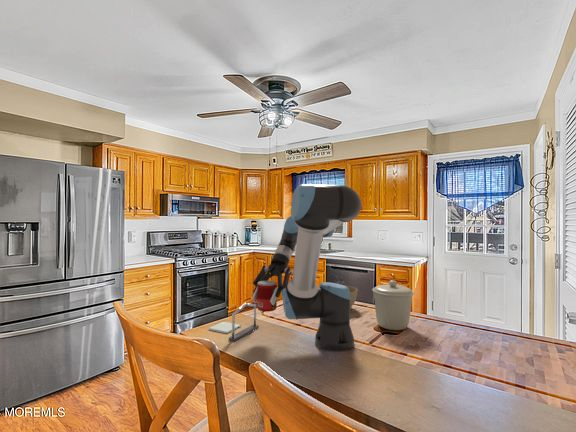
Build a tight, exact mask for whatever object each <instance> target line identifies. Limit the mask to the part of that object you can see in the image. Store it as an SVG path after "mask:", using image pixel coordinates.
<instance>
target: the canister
mask: <svg viewBox="0 0 576 432" xmlns="http://www.w3.org/2000/svg"><path fill="white" fill-rule="evenodd" d="M371 290H372V292H373V298H374V300H373V301H374V308H375V310H374V311H375V316H376V322H377V324H378V326H379V327H381V328H383V329H385V330H391V331H403V330H406V329H407V328H408V326H409V324H410V317H411V310H412V302H413V295H415V291H414V290H413V289H411V288H410V287H407V286H403V285H398V282H397V281H396V280H394V279H391V280H389V281H388V284H379V285H377V286H375V287H373V288H372V289H371Z"/></svg>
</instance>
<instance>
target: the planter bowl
mask: <svg viewBox="0 0 576 432" xmlns="http://www.w3.org/2000/svg"><path fill="white" fill-rule="evenodd" d="M345 286H346V287H347V288H348V289H349V291H350V311H351V310H352V307H353V306H354V304H355V302H356V300H357V297H358V288H357V287H354V286H352V285H351V286H349V285H345Z"/></svg>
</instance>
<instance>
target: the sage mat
mask: <svg viewBox="0 0 576 432" xmlns="http://www.w3.org/2000/svg"><path fill="white" fill-rule="evenodd" d="M240 326H241V327H242V324H238V323H235V329H236V330H237V329H239V328H241V327H240ZM238 327H239V328H238ZM208 330H209V331H213V332H217V333H223V334H226V333H228V334H230V333H232V332H231V331H232V322H228V321H222V322H219V323H217V324H215V325H212V326H210V327H209V328H208ZM229 332H230V333H229Z"/></svg>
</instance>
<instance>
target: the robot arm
mask: <svg viewBox="0 0 576 432" xmlns="http://www.w3.org/2000/svg"><path fill="white" fill-rule="evenodd" d="M361 210H362V200H361V197H360V196H359V194H358V192H357V191H355V190H354V189H353V188H352V187H350V186H347V185H344V184H318V183H317V184H313V183H309V184H308V183H305V184H304V183H303V184H302V183H301V184H300V185H297V186H296V188H295V189H294V191H293V194H292V197H291V201H290V215H289V216H288V217H287V218H286V220H285V222H284V224H283V225H284V226H283V229H282V230H283V231H282V233H281V238H280V241H279V242H278V245H277V248H276V249H275V251H274V254H273V256H272V258H271V260H270V264H269V265H268V266H265V265H262V268H261V270H260V271H259V273H258V274H257V276H256V277H255V279H254V281H253V282H252V284H253V285H254V290H253V295H252V297H251V300H252V301H253V304H256V303H257V284H258V282H259V281H269V280H270V278H273V277H275V276H276V277H277V288H275V291H274V293H273V295H272V298H271V300H270V302H271V304H272V305H274V304H275V302H276V299H278V298H279V297H280V296H281V298H282V305H283V306H282V307H283V312H284V315H285V317H286V318H287V319H288V320H295V321H296V320H307V319H319V324H318V327H317V330H316V333H315V336H314V337H315V338H314V339H315V340H314V343H315V345H316V346H317V347H318V348H320V349H324V350H327V351H332V352H333V351H334V352H339V351H341V352H342V351H347V350H351V349H352V348H354V346H355V338H354V334H353V331H352V328H351V323H350V322H351V321H350V317H351V313H350V312H351V310H350V291H349V289H348V288H347V287H346V286H347V285H343V284H340V283H336V282H328V281H327V282H326V281H324V282H323V281H322V282H320V284H319V286H318V284H317V283H316V280H317V273H318V266H319V260H320V255H321V249H322V248H321V247H322V241H323V238H324V239H325V238H331V237H332V236H333V234H334V232H335V229H336V228H338V227H339V226H341V225H342V224H344V223H349V222H351V221H353V220H354V219H355V218H357V217H358V216H359V215H360V213H361ZM294 251H295V255H294V262H293V270H292V269H291V267H289V266H288V265H289V263H290V261H291V258H292V256H293V254H294ZM291 274H292V279H291V280H290V276H291ZM283 275H284V276H283Z"/></svg>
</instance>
